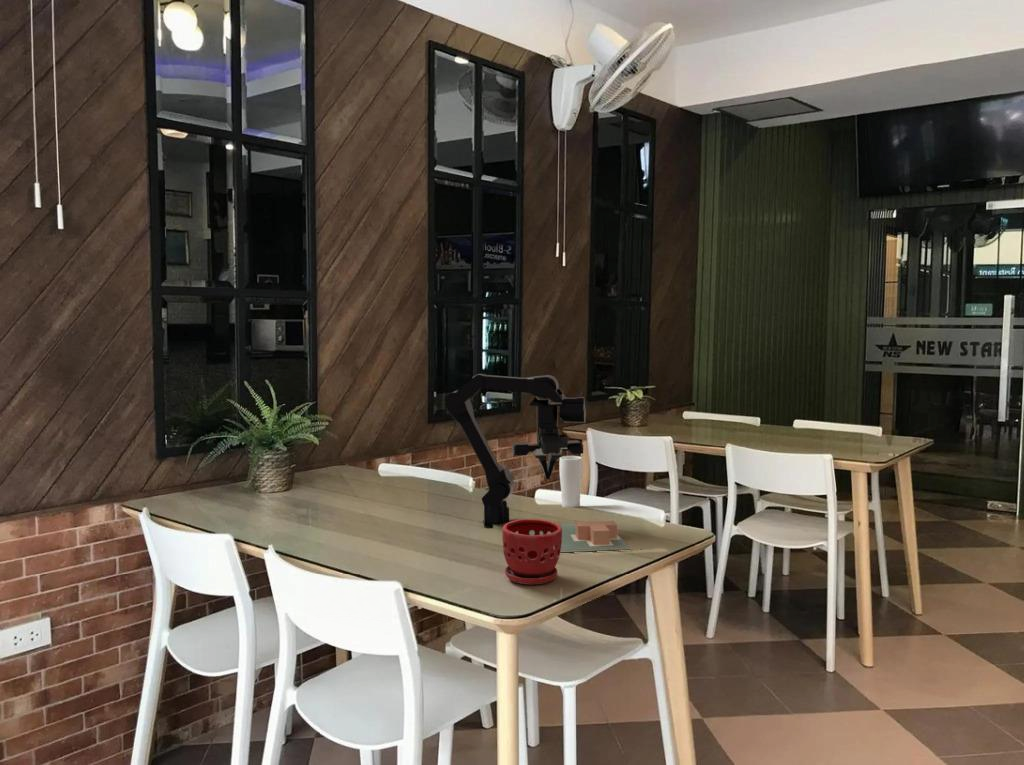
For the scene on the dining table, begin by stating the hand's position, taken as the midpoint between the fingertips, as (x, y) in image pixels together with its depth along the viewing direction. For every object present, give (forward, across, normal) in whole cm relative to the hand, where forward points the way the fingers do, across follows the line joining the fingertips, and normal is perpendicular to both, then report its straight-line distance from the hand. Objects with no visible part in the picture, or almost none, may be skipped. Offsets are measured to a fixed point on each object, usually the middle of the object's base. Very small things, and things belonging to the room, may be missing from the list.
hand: (547, 479), depth 230 cm
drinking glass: (+13, +10, +20) cm, 26 cm away
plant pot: (+13, -10, -43) cm, 46 cm away
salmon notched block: (+12, +10, -17) cm, 24 cm away
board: (+13, +5, -14) cm, 19 cm away
